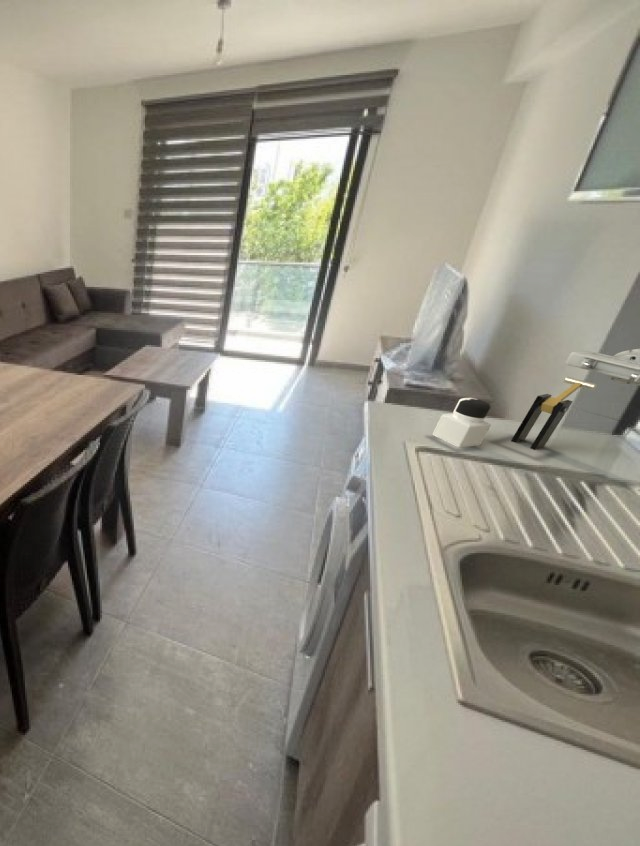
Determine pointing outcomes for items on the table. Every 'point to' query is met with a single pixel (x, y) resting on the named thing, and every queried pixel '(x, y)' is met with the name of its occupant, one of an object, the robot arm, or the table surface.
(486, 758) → the table surface
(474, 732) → the table surface
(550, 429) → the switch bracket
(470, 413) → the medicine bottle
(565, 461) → the table surface
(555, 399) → the switch lever
